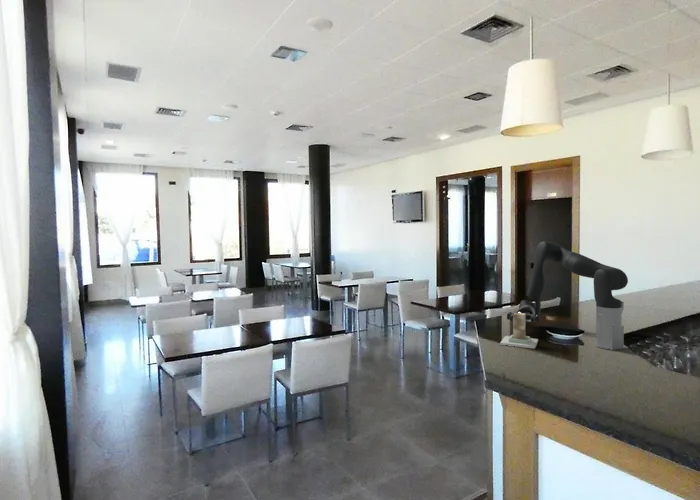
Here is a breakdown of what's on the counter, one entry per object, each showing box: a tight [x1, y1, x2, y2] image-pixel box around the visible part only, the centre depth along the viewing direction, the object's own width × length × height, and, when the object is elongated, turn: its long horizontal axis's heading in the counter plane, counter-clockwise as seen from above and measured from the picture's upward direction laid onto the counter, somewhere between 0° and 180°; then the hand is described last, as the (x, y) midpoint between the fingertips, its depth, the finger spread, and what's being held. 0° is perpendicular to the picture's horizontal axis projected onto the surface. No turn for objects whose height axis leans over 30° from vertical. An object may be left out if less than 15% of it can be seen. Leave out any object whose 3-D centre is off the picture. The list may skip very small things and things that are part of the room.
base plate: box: [499, 334, 539, 350], centre depth 188 cm, size 14×14×2 cm
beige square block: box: [512, 312, 527, 340], centre depth 188 cm, size 5×5×12 cm
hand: (521, 319), depth 194 cm, fingers open, 8 cm apart
